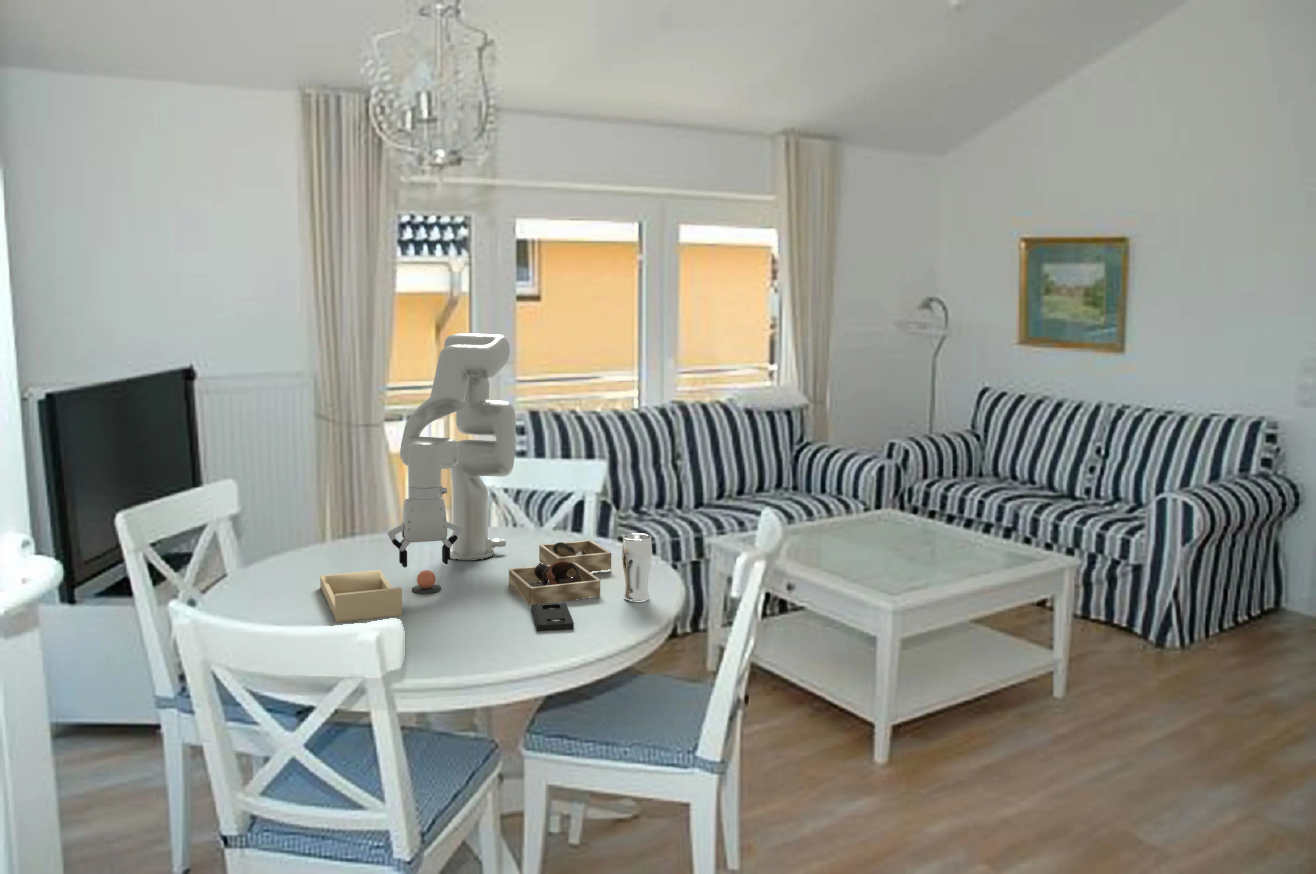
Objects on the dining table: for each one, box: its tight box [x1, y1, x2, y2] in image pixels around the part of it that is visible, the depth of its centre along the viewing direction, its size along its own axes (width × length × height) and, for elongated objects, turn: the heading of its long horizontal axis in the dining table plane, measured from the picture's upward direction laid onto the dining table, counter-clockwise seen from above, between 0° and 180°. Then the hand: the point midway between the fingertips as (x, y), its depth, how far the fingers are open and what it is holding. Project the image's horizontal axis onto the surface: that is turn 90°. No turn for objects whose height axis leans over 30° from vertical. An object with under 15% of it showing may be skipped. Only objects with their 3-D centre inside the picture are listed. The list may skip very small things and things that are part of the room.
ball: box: [416, 569, 437, 589], centre depth 239 cm, size 4×4×4 cm
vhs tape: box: [530, 602, 575, 633], centre depth 219 cm, size 14×8×2 cm, turn 12°
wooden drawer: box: [319, 569, 403, 624], centre depth 230 cm, size 14×28×10 cm, turn 25°
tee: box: [411, 583, 442, 595], centre depth 240 cm, size 7×7×1 cm
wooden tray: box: [538, 539, 612, 572], centre depth 262 cm, size 15×15×5 cm
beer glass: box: [621, 532, 653, 601], centre depth 235 cm, size 7×7×15 cm
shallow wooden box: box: [508, 563, 601, 606], centre depth 240 cm, size 18×18×4 cm
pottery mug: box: [534, 561, 582, 586], centre depth 241 cm, size 12×10×8 cm
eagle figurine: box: [552, 541, 587, 557], centre depth 261 cm, size 8×7×9 cm
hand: (424, 564), depth 238 cm, fingers open, 9 cm apart
